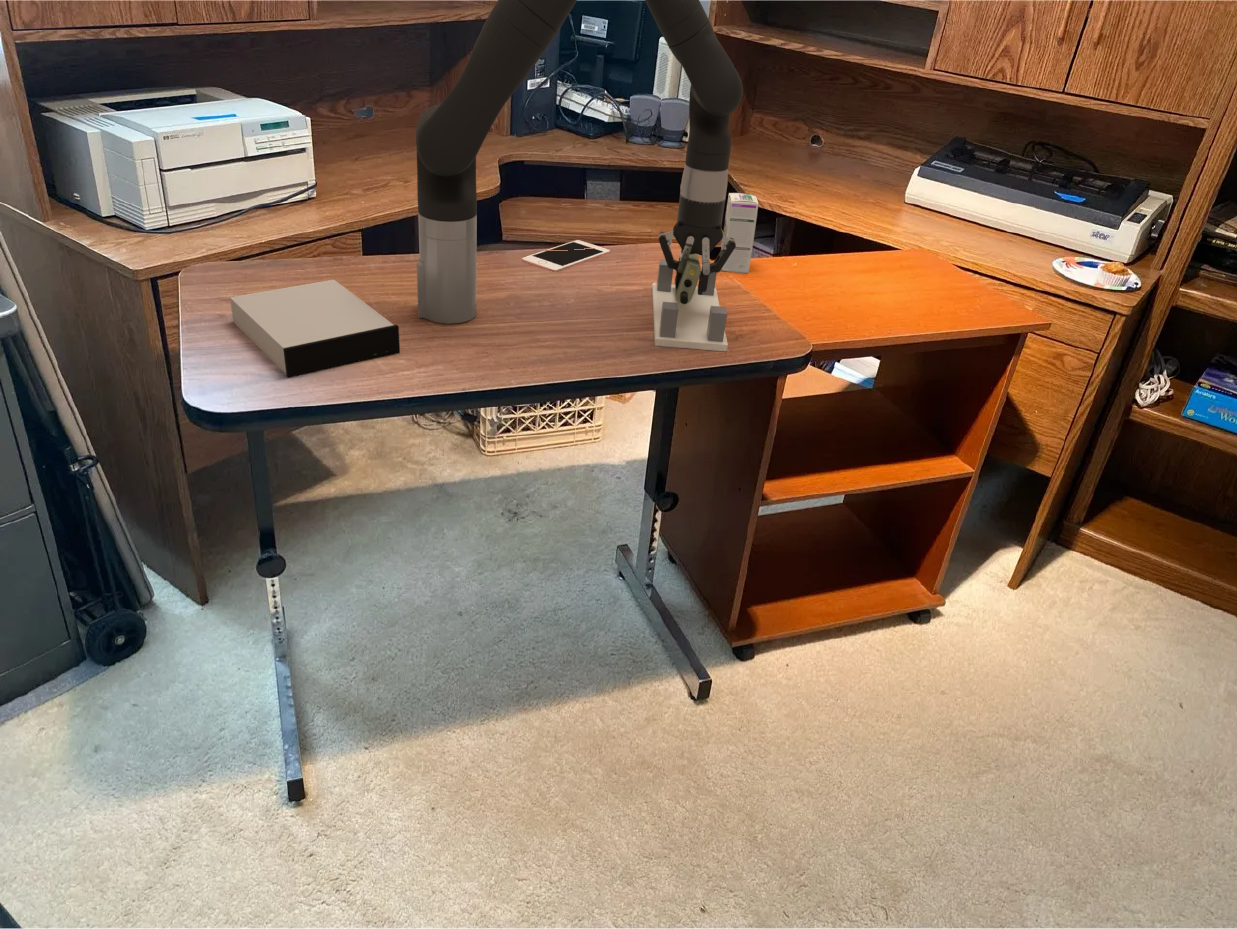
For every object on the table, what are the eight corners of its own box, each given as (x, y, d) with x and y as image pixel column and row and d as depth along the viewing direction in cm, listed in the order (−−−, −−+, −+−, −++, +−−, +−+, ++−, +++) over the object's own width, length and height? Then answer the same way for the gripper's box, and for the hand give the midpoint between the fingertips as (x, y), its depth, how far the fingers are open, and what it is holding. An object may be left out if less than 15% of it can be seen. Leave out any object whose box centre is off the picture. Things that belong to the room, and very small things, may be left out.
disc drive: (288, 381, 133) (285, 349, 130) (232, 325, 147) (228, 295, 144) (400, 356, 143) (399, 326, 140) (337, 305, 157) (335, 277, 154)
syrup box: (749, 273, 187) (760, 202, 179) (720, 271, 187) (730, 199, 179) (746, 264, 192) (757, 194, 184) (717, 261, 192) (728, 191, 184)
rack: (654, 345, 153) (658, 310, 150) (652, 288, 175) (655, 257, 172) (726, 351, 153) (732, 316, 150) (714, 294, 175) (719, 262, 172)
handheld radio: (689, 289, 174) (691, 311, 150) (672, 284, 173) (672, 304, 150) (701, 254, 171) (705, 271, 148) (684, 249, 171) (685, 265, 148)
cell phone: (520, 262, 182) (520, 257, 182) (577, 243, 195) (577, 239, 195) (555, 274, 178) (555, 269, 178) (611, 254, 191) (611, 250, 190)
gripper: (661, 196, 149) (650, 297, 158) (747, 203, 150) (731, 303, 159) (660, 184, 156) (650, 281, 165) (742, 191, 156) (728, 288, 165)
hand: (690, 292), depth 162 cm, fingers open, 3 cm apart
